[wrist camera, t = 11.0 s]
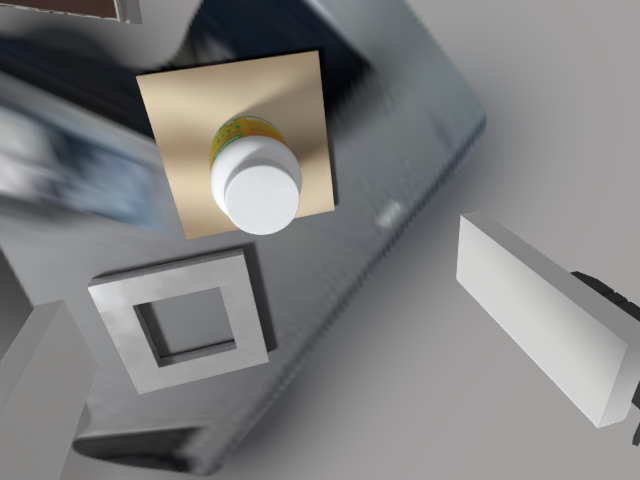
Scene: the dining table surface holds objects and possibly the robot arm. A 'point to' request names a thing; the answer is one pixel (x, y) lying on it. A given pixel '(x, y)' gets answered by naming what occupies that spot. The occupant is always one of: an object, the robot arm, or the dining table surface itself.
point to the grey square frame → (168, 281)
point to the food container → (84, 8)
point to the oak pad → (224, 104)
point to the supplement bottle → (254, 175)
